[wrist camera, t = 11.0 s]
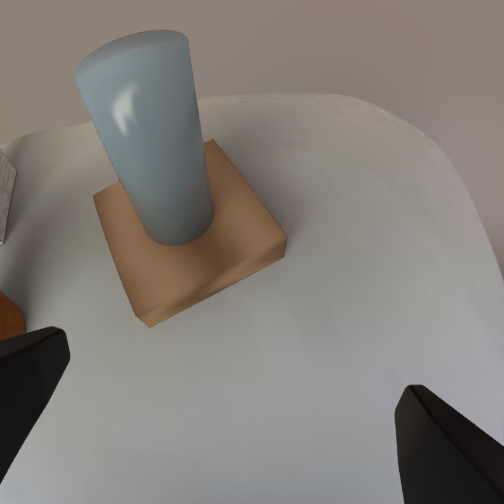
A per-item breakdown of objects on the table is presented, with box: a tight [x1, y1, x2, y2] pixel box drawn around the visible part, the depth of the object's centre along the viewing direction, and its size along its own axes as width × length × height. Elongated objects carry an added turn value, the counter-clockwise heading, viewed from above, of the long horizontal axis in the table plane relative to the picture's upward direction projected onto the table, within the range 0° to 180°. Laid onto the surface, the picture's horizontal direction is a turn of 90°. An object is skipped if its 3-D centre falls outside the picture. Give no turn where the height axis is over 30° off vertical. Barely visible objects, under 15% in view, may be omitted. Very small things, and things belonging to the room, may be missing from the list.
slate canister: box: [75, 30, 214, 246], centre depth 17 cm, size 5×5×12 cm
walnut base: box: [93, 139, 287, 328], centre depth 23 cm, size 11×11×3 cm
